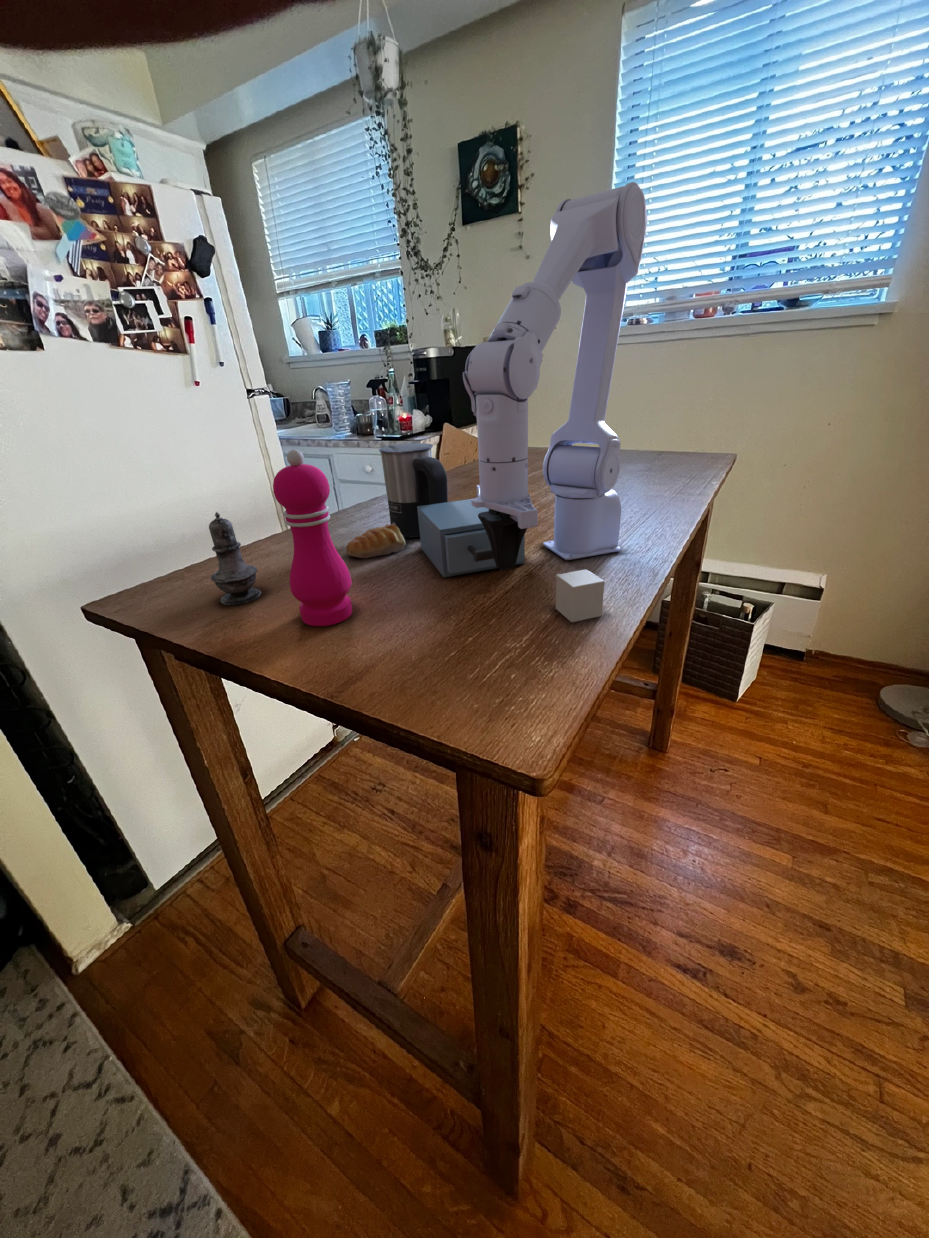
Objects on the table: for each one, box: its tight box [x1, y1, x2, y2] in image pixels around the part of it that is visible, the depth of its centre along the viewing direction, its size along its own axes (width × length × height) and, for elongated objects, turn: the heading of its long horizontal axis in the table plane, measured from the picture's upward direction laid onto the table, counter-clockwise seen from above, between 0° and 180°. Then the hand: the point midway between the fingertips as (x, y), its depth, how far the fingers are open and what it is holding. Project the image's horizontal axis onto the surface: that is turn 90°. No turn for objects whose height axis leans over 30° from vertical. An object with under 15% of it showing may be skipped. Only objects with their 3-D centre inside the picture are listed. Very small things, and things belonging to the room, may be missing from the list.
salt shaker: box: [208, 511, 262, 606], centre depth 67 cm, size 6×6×12 cm
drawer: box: [445, 528, 525, 574], centre depth 74 cm, size 17×11×5 cm
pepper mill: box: [272, 449, 354, 627], centre depth 58 cm, size 7×7×20 cm
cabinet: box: [417, 498, 526, 578], centre depth 77 cm, size 14×13×7 cm
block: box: [555, 568, 605, 623], centre depth 59 cm, size 4×4×4 cm
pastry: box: [346, 523, 406, 559], centre depth 82 cm, size 9×7×4 cm
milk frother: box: [378, 442, 449, 539], centre depth 90 cm, size 14×16×15 cm
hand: (505, 567), depth 65 cm, fingers closed
